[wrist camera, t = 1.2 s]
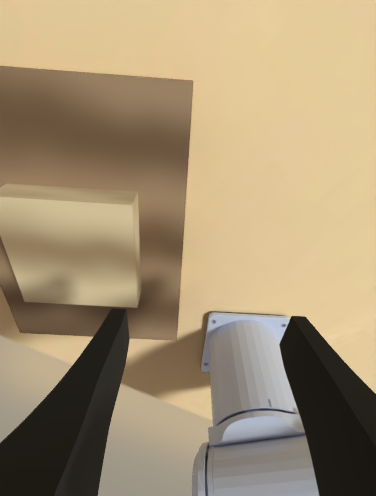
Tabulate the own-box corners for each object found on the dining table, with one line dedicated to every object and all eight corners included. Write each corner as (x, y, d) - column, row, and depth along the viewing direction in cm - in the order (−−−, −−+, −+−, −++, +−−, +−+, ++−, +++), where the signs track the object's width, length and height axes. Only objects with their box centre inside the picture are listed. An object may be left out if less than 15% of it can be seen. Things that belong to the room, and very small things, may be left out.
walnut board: (178, 315, 27) (176, 340, 24) (36, 308, 26) (20, 332, 24) (193, 80, 16) (193, 81, 13) (-48, 62, 16) (-94, 60, 13)
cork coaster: (141, 289, 21) (137, 307, 19) (38, 283, 21) (24, 301, 19) (137, 191, 17) (131, 205, 15) (6, 183, 16) (-15, 195, 15)
